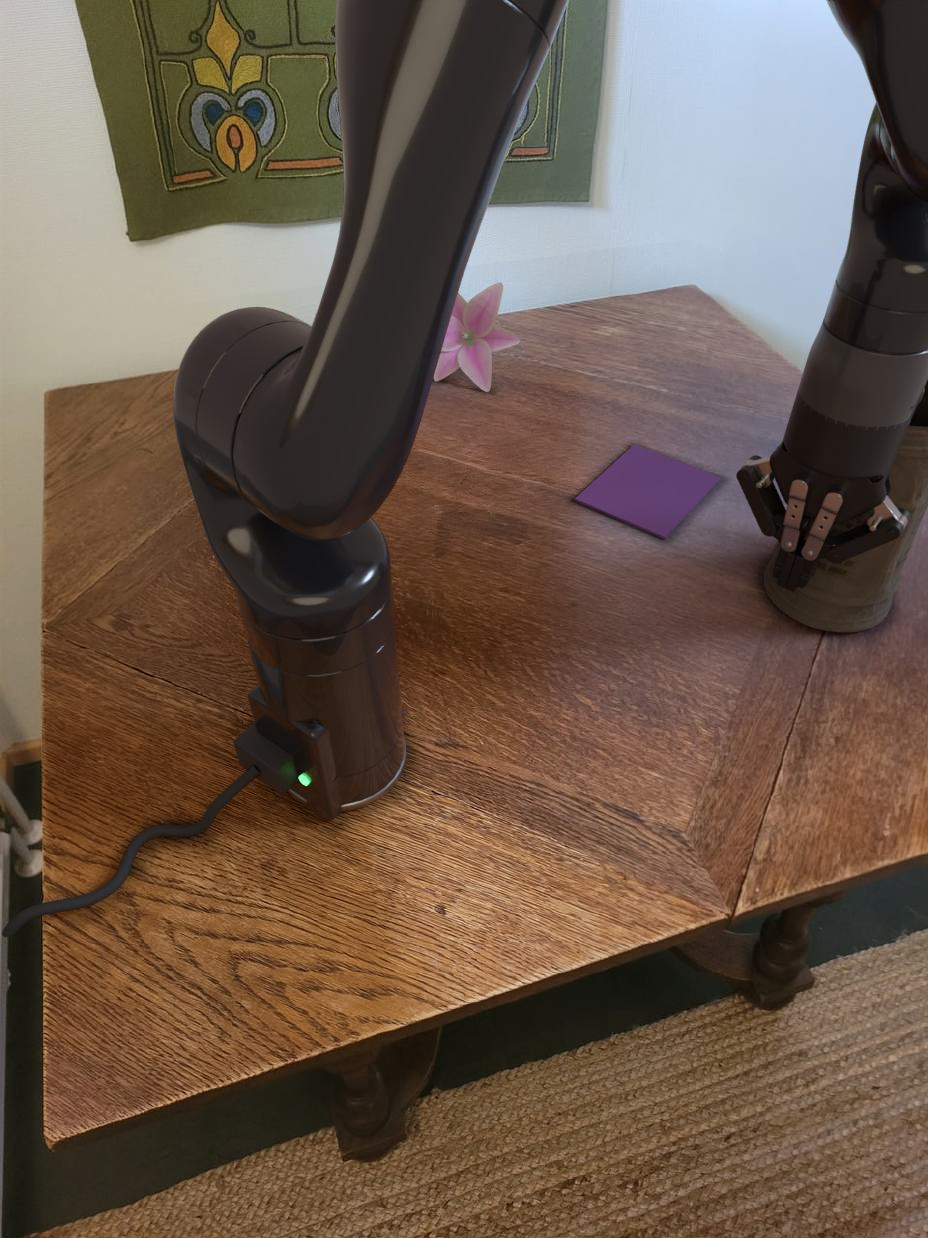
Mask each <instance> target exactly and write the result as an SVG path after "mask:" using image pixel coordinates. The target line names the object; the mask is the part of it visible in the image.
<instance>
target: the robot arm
mask: <svg viewBox="0 0 928 1238" xmlns="http://www.w3.org/2000/svg"><path fill="white" fill-rule="evenodd" d="M569 1H570V0H336V8H335V24H334V53H335V56H334V57H335V75H336V76H335V77H336V78H335V79H336V92H337V105H338V116H339V128H340V140H341V150H342V164H343V165H342V167H343V189H342V190H343V191H342V192H343V194H342V211H341V216H340V217H341V219H340V226H339V232H338V238H337V242H336V247H335V251H334V255H333V259H332V263H331V267H330V270H329V272H328V276H327V279H326V282H325V287H324V289H323V292H322V294H321V298H320V301H319V305H318V308H317V311H316V313H315V316H314V319H313V321H312V323H311V324H309V323H307V322H305V321H303V320H301V319H300V318H297V317H295V316H293V315H292V314H289V313H287V312H285V311H282V310H278V309H274V308H270V307H265V306H249V307H242V308H237V309H234V310H231V311H228V312H226V313H223V314H221V315H219V316H218V317H216V318H214V319H213V320H211V321H210V322H209V323H207V324H206V325H205V326H204V327H203V328H202V329H201V330H200V331H199V332H198V333H197V335H196V336H195V337H194V338H193V340H192V341H191V343H190V344H189V345H188V347H187V349H186V351H185V353H184V355H183V356H182V359H181V361H180V364H179V365H178V369H177V373H176V377H175V380H174V386H173V387H174V388H173V395H172V396H173V397H172V401H173V402H172V411H173V423H174V431H175V436H176V441H177V445H178V449H179V453H180V457H181V460H182V463H183V464H182V465H183V467H184V469H185V470H184V471H185V474H186V476H187V480H188V483H189V488H190V489H191V493H192V496H193V499H194V502H195V505H196V509H197V512H198V515H199V518H200V521H201V525H202V527H203V531H204V534H205V538H206V540H207V542H208V545H209V549H210V550H211V552H212V555H213V556H214V559H215V560H216V562H217V564H218V566H219V567H220V569H221V570H222V572H223V573H224V575H225V576H226V578H227V580H228V581H229V583H230V585H231V586H232V588H233V591H234V594H235V598H236V602H237V605H238V609H239V613H240V618H241V622H242V625H243V629H244V633H245V637H246V641H247V642H246V643H247V647H248V650H249V654H250V658H251V662H252V665H253V670H254V674H255V679H256V681H257V685H255V686H253V687H252V688H251V690H249V692H248V693H247V700H248V704H249V707H250V711H251V715H252V720H253V723H252V724H251V725H249V727H248V728H246V729H245V730H244V731H243V732H242V733H241V734H240V735H238V736H237V737H236V738H234V740H233V741H232V743H233V746H234V749H235V752H236V757H237V760H238V763H239V765H240V767H242V768H243V769H244V770H245V771H244V772H243V773H242V774H241V775H240V776H239V777H237V778H236V779H235V780H234V781H233V782H232V783H231V784H230V785H228V786H227V787H226V788H225V789H224V790H223V791H222V792H221V793H220V794H219V795H218V796H217V797H216V798H215V799H214V800H212V802H211V803H210V804H209V805H208V807H207V808H206V811H205V813H204V815H203V816H202V818H201V819H200V820H199V821H197V822H196V823H194V824H187V825H181V824H180V825H179V824H157V825H153V826H150V827H147V828H144V829H143V830H141V831H140V832H138V833H137V834H136V835H135V836H134V837H133V838H132V839H131V840H130V841H129V843H128V844H127V846H126V848H125V849H124V851H123V854H122V857H121V859H120V863H119V865H118V867H117V869H116V871H115V873H114V875H113V876H112V878H111V879H110V880H109V881H107V882H106V883H105V884H103V885H102V886H100V887H99V888H97V889H95V890H93V891H91V892H88V893H85V894H81V895H77V896H72V897H67V898H61V899H56V900H55V899H54V900H50V901H44V902H41V903H38V904H34V905H32V906H29V907H27V908H26V909H24V910H22V911H20V912H18V913H17V914H16V915H15V916H13V917H12V918H11V919H10V920H9V922H7V923H6V924H5V926H4V928H3V929H2V933H1V936H2V937H3V938H9V937H12V936H14V935H15V934H16V933H18V931H19V930H20V929H21V928H22V927H23V926H24V925H26V923H28V922H29V921H32V920H33V919H36V918H39V917H42V916H43V917H44V916H47V915H52V914H57V913H64V912H69V911H74V910H79V909H82V908H86V907H89V906H92V905H95V904H97V903H99V902H102V901H104V900H106V899H107V898H109V897H110V896H111V895H113V894H115V892H117V891H118V890H119V889H120V888H121V886H123V884H124V883H125V881H126V880H127V878H128V876H129V875H130V872H131V869H132V868H133V864H134V861H135V859H136V857H137V854H138V853H139V850H140V849H141V847H142V846H143V845H144V844H145V843H147V842H148V841H150V840H151V839H154V838H159V837H177V838H178V837H179V838H184V837H185V838H186V837H193V836H196V835H197V836H198V835H200V834H202V833H204V832H206V831H207V830H208V829H209V828H211V826H212V825H213V823H214V821H215V819H216V817H217V815H218V814H219V813H220V812H221V811H222V809H223V808H224V807H225V806H227V804H229V802H230V801H231V800H232V799H234V798H235V797H236V796H237V795H238V794H240V792H241V791H243V790H244V789H245V788H246V787H247V786H248V785H249V784H251V783H252V782H253V781H254V780H255V779H256V778H257V779H259V780H260V781H261V782H262V783H264V784H265V785H267V786H268V787H270V789H273V790H274V791H275V792H276V793H278V794H279V795H281V796H283V795H285V794H286V792H287V793H289V795H291V796H292V798H294V799H295V800H296V801H298V802H299V803H301V804H303V805H304V806H306V807H308V808H309V809H310V810H312V811H313V812H315V813H316V814H317V815H319V816H320V817H322V818H323V819H324V820H326V821H328V822H331V821H334V820H335V819H336V818H337V817H338V816H339V815H340V814H341V813H343V812H347V811H353V810H358V809H361V808H364V807H366V806H369V805H371V804H373V803H375V802H377V801H378V800H380V799H381V798H383V797H384V796H386V795H387V794H388V793H389V792H390V791H391V790H392V789H393V788H394V787H395V786H396V784H397V783H398V781H400V779H401V777H402V775H403V773H404V770H405V767H406V763H407V756H408V755H407V754H408V753H407V743H406V737H405V733H404V719H406V715H405V709H404V708H403V707H402V694H401V683H400V670H399V657H398V656H399V655H398V646H397V645H398V644H397V631H396V619H395V618H396V617H395V605H394V604H395V603H394V591H393V576H392V564H391V555H390V550H389V545H388V543H387V540H386V537H385V535H384V533H383V531H382V530H381V529H380V527H379V526H378V523H376V521H375V520H374V518H373V516H374V515H375V514H376V513H377V512H378V511H379V509H380V508H381V507H382V505H383V504H384V503H385V502H386V500H387V499H388V497H389V496H390V495H391V493H392V491H393V490H394V488H395V486H396V484H397V483H398V480H399V478H400V476H401V474H402V472H403V470H404V467H405V466H406V463H407V461H408V459H409V456H410V454H411V452H412V449H413V446H414V443H415V440H416V437H417V434H418V431H419V428H420V425H421V422H422V419H423V416H424V411H425V408H426V404H427V402H428V398H429V395H430V391H431V388H432V385H433V381H434V374H435V370H436V367H437V363H438V360H439V357H440V353H441V350H442V346H443V343H444V339H445V336H446V332H447V329H448V325H449V322H450V319H451V315H452V312H453V308H454V305H455V301H456V298H457V295H458V293H459V291H460V288H461V286H462V285H461V284H462V281H463V278H464V275H465V272H466V270H467V269H466V268H467V265H468V263H469V260H470V257H471V254H472V251H473V248H474V246H475V243H476V240H477V236H478V234H479V231H480V228H481V226H482V223H483V220H484V217H485V215H486V212H487V209H488V206H489V203H490V201H491V199H492V195H493V192H494V190H495V188H496V187H495V186H496V185H497V182H498V178H499V176H500V173H501V170H502V168H503V165H504V162H505V159H506V157H507V154H508V152H509V149H510V146H511V143H512V141H513V138H514V135H515V134H516V131H517V128H518V126H519V123H520V120H521V118H522V115H523V114H524V110H525V108H526V106H527V103H528V101H529V99H530V96H531V94H532V91H533V89H534V87H535V84H536V82H537V80H538V78H539V76H540V74H541V70H542V68H543V66H544V63H545V62H546V59H547V57H548V55H549V52H550V49H551V48H552V45H553V42H554V39H555V37H556V34H557V32H558V30H559V26H560V24H561V21H562V19H563V17H564V14H565V11H566V9H567V6H568V4H569ZM825 1H826V3H827V6H828V7H829V10H830V12H831V14H832V16H833V18H834V20H835V22H836V24H837V26H838V27H839V29H840V30H841V33H842V34H843V35H844V37H845V38H846V40H847V42H849V44H850V45H851V46H852V48H853V49H854V51H855V52H856V54H857V55H858V58H859V59H860V61H861V64H862V66H863V69H864V72H865V74H866V77H867V80H868V83H869V86H870V88H871V89H870V90H871V91H872V94H873V97H874V99H875V103H874V106H873V109H872V112H871V114H870V117H869V119H868V123H867V128H866V131H865V136H864V139H863V144H862V148H861V149H862V150H861V154H860V160H859V166H858V172H857V178H856V183H855V191H854V197H853V203H852V211H851V218H850V228H849V234H848V240H847V244H846V245H847V246H846V249H845V253H844V256H843V258H842V261H841V263H840V266H839V267H838V271H837V274H836V277H835V281H834V284H833V287H832V290H831V293H830V297H829V300H828V304H827V306H826V310H825V314H824V317H823V319H822V323H821V325H820V327H819V330H818V332H817V334H816V336H815V338H814V341H813V343H812V345H811V346H810V350H809V352H808V355H807V359H806V361H805V365H804V368H803V372H802V375H801V378H800V381H799V386H798V388H797V391H796V395H795V399H794V402H793V405H792V408H791V411H790V415H789V418H788V422H787V424H786V428H785V431H784V434H783V438H782V441H781V443H780V444H779V445H778V446H777V447H776V448H775V450H774V451H772V452H771V454H770V455H769V456H765V457H762V456H760V455H758V454H754V455H752V456H751V457H749V459H747V461H745V463H744V464H743V465H742V466H741V467H740V468H739V470H738V471H737V472H736V474H735V477H736V480H737V482H738V484H739V487H740V488H741V490H742V492H743V495H744V497H745V499H746V501H747V503H748V506H749V508H750V510H751V512H752V514H753V516H754V519H755V521H756V523H757V525H758V527H759V531H761V533H762V535H764V536H766V537H768V538H771V537H773V538H774V539H776V540H777V542H778V541H779V543H780V550H779V553H778V556H777V559H776V562H775V566H774V568H773V577H775V578H778V581H777V585H778V586H780V587H782V588H785V589H787V590H790V591H792V592H794V591H795V590H796V589H797V587H799V588H802V589H803V588H804V587H805V586H806V585H807V584H808V582H809V581H810V579H811V578H812V577H813V575H814V572H815V569H816V567H817V564H818V562H819V559H820V558H827V559H828V560H829V561H830V562H832V563H840V562H842V561H845V560H847V559H850V558H852V557H854V556H857V555H859V554H862V553H864V552H866V551H869V550H871V549H873V548H876V547H878V546H881V545H883V544H885V543H888V542H890V541H893V540H895V539H897V538H898V537H899V536H900V534H901V533H902V532H903V530H904V529H905V527H906V525H907V523H908V522H909V520H910V518H911V515H910V513H909V511H907V510H906V509H903V508H899V509H897V507H896V506H895V505H894V503H893V502H892V501H891V499H890V498H889V496H888V494H889V492H890V490H891V482H890V470H891V467H892V465H893V462H894V460H895V458H896V455H897V453H898V450H899V448H900V445H901V443H902V441H903V438H904V436H905V433H906V431H907V429H908V426H909V424H910V421H911V419H912V417H913V414H914V412H915V409H916V407H917V405H918V404H919V403H920V402H921V400H922V397H923V394H924V391H925V385H926V383H927V380H928V0H825ZM774 480H775V482H776V485H777V487H778V489H777V487H776V485H775V482H774ZM778 490H779V491H778ZM779 492H780V493H779ZM780 495H781V496H780ZM781 497H782V498H781ZM783 502H784V503H785V505H786V506H785V505H784V503H783ZM873 508H874V512H873V513H872V515H871V516H870V518H869V519H868V521H867V523H865V524H863V525H861V526H858V527H856V528H854V529H852V530H849V531H847V532H845V533H843V534H841V535H839V536H832V535H831V534H832V532H833V530H834V528H835V526H836V525H837V524H842V523H845V522H847V521H849V520H851V519H853V518H855V517H857V516H859V515H861V514H863V513H865V512H867V511H869V510H871V509H873ZM811 517H812V518H814V519H815V522H814V524H813V526H812V528H811V530H810V532H809V536H808V538H807V541H805V540H804V537H805V535H806V534H807V532H808V528H809V524H810V520H811Z"/></svg>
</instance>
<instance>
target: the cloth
mask: <svg viewBox="0 0 928 1238" xmlns="http://www.w3.org/2000/svg"><path fill="white" fill-rule="evenodd" d="M720 480H721V477H720V476H718V475H715V474H712V473H710V472H707V471H705V470H702V469H700V468H697V467H695V466H692V465H689V464H686V463H684V462H682V461H678V460H676V459H673V458H670V457H668V456H665V455H663V454H660V453H658V452H655V451H653V450H650V449H647V448H645V447H642V446H639V445H638V444H633V445H632V446H630V448H629V449H627V450H626V451H625V452H624V453H623V454H622V455H621V456H620V457H619V458H617V459H616V460H615V461H614V462H613V463H612V464H611V465H610V466H609V467H607V468H606V469H605V470H604V471H603V472H602V473H601V474H600V475H599V476H598V477H596V478H595V479H594V480H593V481H592V482H591V483H590V484H589V485H587V487H586V488H585V489H583V490H582V491H581V492H580V493H579V494H578V495H577V496H576V497H574V502H577V503H578V504H581V505H583V506H586V507H588V508H589V509H593V510H595V511H598V512H600V513H602V514H604V515H606V516H609V517H612V518H614V519H616V520H618V521H621V522H623V523H626V524H628V525H630V526H632V527H634V528H637V529H640V530H641V531H644V532H646V533H649V534H651V535H653V536H656V537H658V538H661V539H663V540H666V539H667V537H669V536H670V534H671V533H672V532H673V531H674V530H675V529H676V528H677V527H678V526H679V525H680V524H681V523H682V522H683V520H684V519H685V518H687V516H689V514H690V513H691V512H692V511H693V509H695V508H696V506H698V505H699V503H700V502H701V501H702V500H703V499H704V498H705V496H707V495H708V493H710V491H711V490H712V489H713V488H714V487H715V486H716V485H717V484H718V483H719V481H720Z"/></svg>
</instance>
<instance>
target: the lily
mask: <svg viewBox="0 0 928 1238" xmlns="http://www.w3.org/2000/svg"><path fill="white" fill-rule="evenodd" d="M503 293H504V284H503V282H496V283H494V284H492V285H490V286H488V287H486V288H485V289H483V290H482V291H480V292H479V293H477V294H476V295H474V296H472V297H471V299H469V300H468V301H466V299H465V298H464V297H463V295H461V294H460V293H459V292H458V295H457V298H456V301H455V305H454V308H453V312H452V315H451V319H450V322H449V325H448V329H447V332H446V336H445V339H444V343H443V346H442V350H441V353H440V357H439V360H438V363H437V367H436V370H435V374H434V377H433V381H434V382H439V381H441V380H443V379H445V378H447V377H449V376H450V375H451V374H453V373H454V372H456V371H457V370H458V369H459V368H460V369H461V371H462V372H463V373H464V374H465V375H466V377H468V378H469V380H470V381H471V382H473V384H474V385H476V387H478V388H479V389H481V390H482V391H483V392H486V393H489V392H490V390H491V388H492V377H493V376H492V374H493V373H492V371H493V355H492V353H495V352H498V351H502V350H505V349H509V348H511V347H513V346H516V345H518V344H520V342H521V340H520V338H519V337H518V336H516V335H515V334H514V333H512V332H511V331H509V330H507V329H505V328H503V327H501V326H500V325H497V324H496V321H497V319H498V314H499V310H500V307H501V302H502V297H503Z"/></svg>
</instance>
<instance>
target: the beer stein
mask: <svg viewBox="0 0 928 1238" xmlns="http://www.w3.org/2000/svg"><path fill="white" fill-rule="evenodd" d="M890 482H891V490H890V492H889V494H888V496H889V498H890V499H891V501H892V502H893V503H894V505H895V506H896V507H897V509H899V508H903V509H906V510H907V511H909V513H910V515H911V518H910V520H909V522H908V523H907V525H906V527H905V529H904V530H903V532H902V533H901V534H900V536H899V537H898V538H897V539H895V540H893V541H890V542H888V543H885V544H883V545H881V546H878V547H876V548H873V549H871V550H869V551H866V552H864V553H862V554H859V555H857V556H854V557H852V558H850V559H847V560H845V561H842V562H840V563H832V562H830V561H829V560H828V559H827V558H820V559H819V562H818V564H817V567H816V569H815V572H814V575H813V577H812V578H811V579H810V581H809V582H808V584H807V585H806V586H805V587H804V588H803V589H802V588H799V587H797V589H796V590H795V591H794V592H792V591H790V590H787V589H785V588H782V587H780V586H778V585H777V581H778V578H775V577H773V568H774V566H775V562H776V559H777V556H778V553H779V550H780V543H779V541H778V540H777V542H776V543H775V546H774V549H773V554H774V555H772V557H771V558H770V560H769V562H768V563H767V565H766V567H765V569H764V573H763V578H762V579H763V587H764V590H765V592H766V595H767V596H768V598H769V600H770V601H771V603H773V604H774V606H776V608H778V609H779V610H780V612H782V613H784V614H785V615H786V616H787V617H789V618H790V619H792V620H794V621H796V622H798V623H800V624H801V625H804V626H807V627H808V628H809V627H810V628H812V629H816V630H820V631H825V632H833V633H857V632H864V631H867V630H869V629H872V628H873V627H876V626H877V625H879V624H881V623H882V622H883V621H884V620H885V618H887V616H888V614H889V612H890V609H891V607H892V604H893V598H894V594H895V593H896V592H897V590H898V588H899V587H900V583H901V580H902V571H903V568H904V565H905V563H906V560H907V557H908V556H909V552H910V550H911V547H912V545H913V543H914V540H915V538H916V535H917V533H918V530H919V528H920V526H921V523H922V521H923V519H924V517H925V513H926V512H927V510H928V380H927V383H926V385H925V391H924V394H923V397H922V400H921V402H920V403H919V404H918V405H917V407H916V409H915V412H914V414H913V417H912V419H911V421H910V424H909V426H908V429H907V431H906V433H905V436H904V438H903V441H902V443H901V445H900V448H899V450H898V453H897V455H896V458H895V460H894V462H893V465H892V467H891V470H890ZM873 512H874V508H873V509H871V510H869V511H867V512H865V513H863V514H861V515H859V516H857V517H855V518H853V519H851V520H849V521H847V522H845V523H842V524H837V525H836V526H835V528H834V530H833V532H832V534H831V535H832V536H839V535H841V534H843V533H845V532H847V531H849V530H852V529H854V528H856V527H858V526H861V525H863V524H865V523H867V521H868V519H869V518H870V516H871V515H872V513H873ZM814 522H815V519H814V518H812V517H811V520H810V524H809V528H808V532H807V534H806V535H805V537H804V540H805V541H807V538H808V536H809V532H810V530H811V528H812V526H813V524H814Z"/></svg>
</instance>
